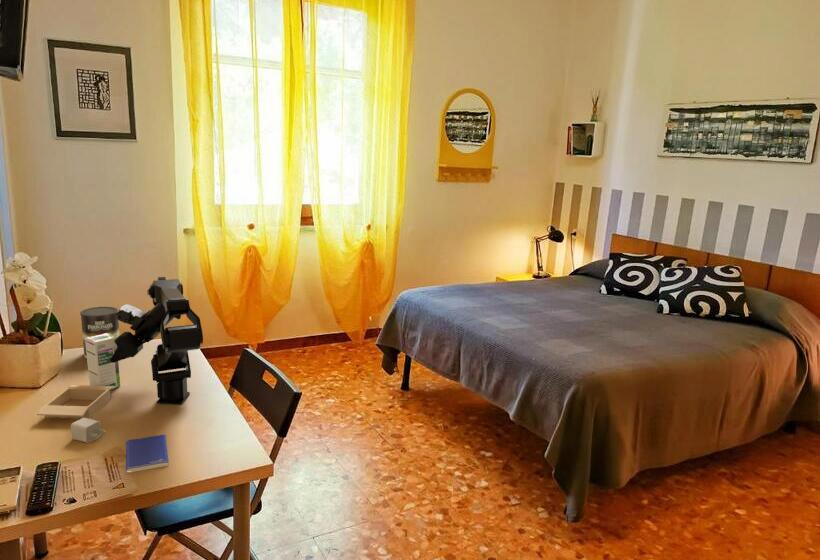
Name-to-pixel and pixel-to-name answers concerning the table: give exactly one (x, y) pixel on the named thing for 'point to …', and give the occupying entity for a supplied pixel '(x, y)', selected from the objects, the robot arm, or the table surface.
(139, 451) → the hard drive
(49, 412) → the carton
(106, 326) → the coffee can
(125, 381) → the table surface
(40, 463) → the table surface
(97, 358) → the syrup box
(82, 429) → the usb wall charger
